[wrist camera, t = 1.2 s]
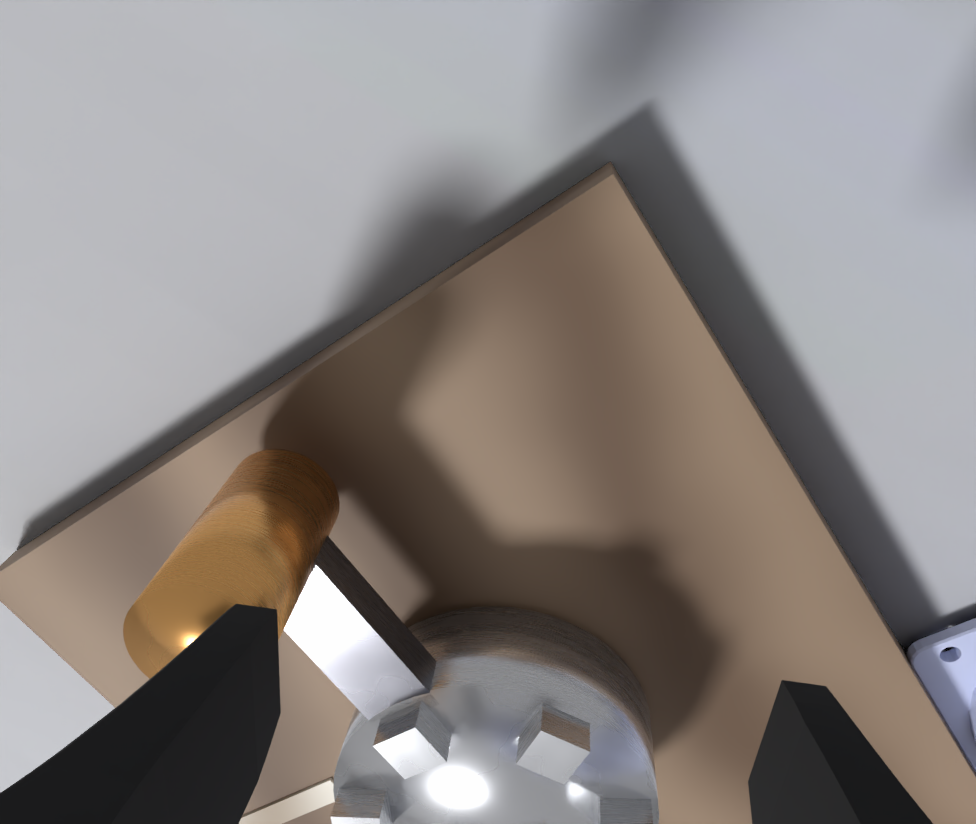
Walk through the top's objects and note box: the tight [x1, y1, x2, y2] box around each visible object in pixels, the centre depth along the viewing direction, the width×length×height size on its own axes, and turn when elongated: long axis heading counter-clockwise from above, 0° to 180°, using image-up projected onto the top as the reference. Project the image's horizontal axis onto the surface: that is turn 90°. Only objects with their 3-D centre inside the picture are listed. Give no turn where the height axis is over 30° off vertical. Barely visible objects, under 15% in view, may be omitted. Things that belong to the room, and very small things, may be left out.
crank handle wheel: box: [123, 449, 659, 824], centre depth 19 cm, size 14×8×6 cm, turn 34°
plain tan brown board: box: [0, 162, 976, 824], centre depth 24 cm, size 21×22×2 cm
